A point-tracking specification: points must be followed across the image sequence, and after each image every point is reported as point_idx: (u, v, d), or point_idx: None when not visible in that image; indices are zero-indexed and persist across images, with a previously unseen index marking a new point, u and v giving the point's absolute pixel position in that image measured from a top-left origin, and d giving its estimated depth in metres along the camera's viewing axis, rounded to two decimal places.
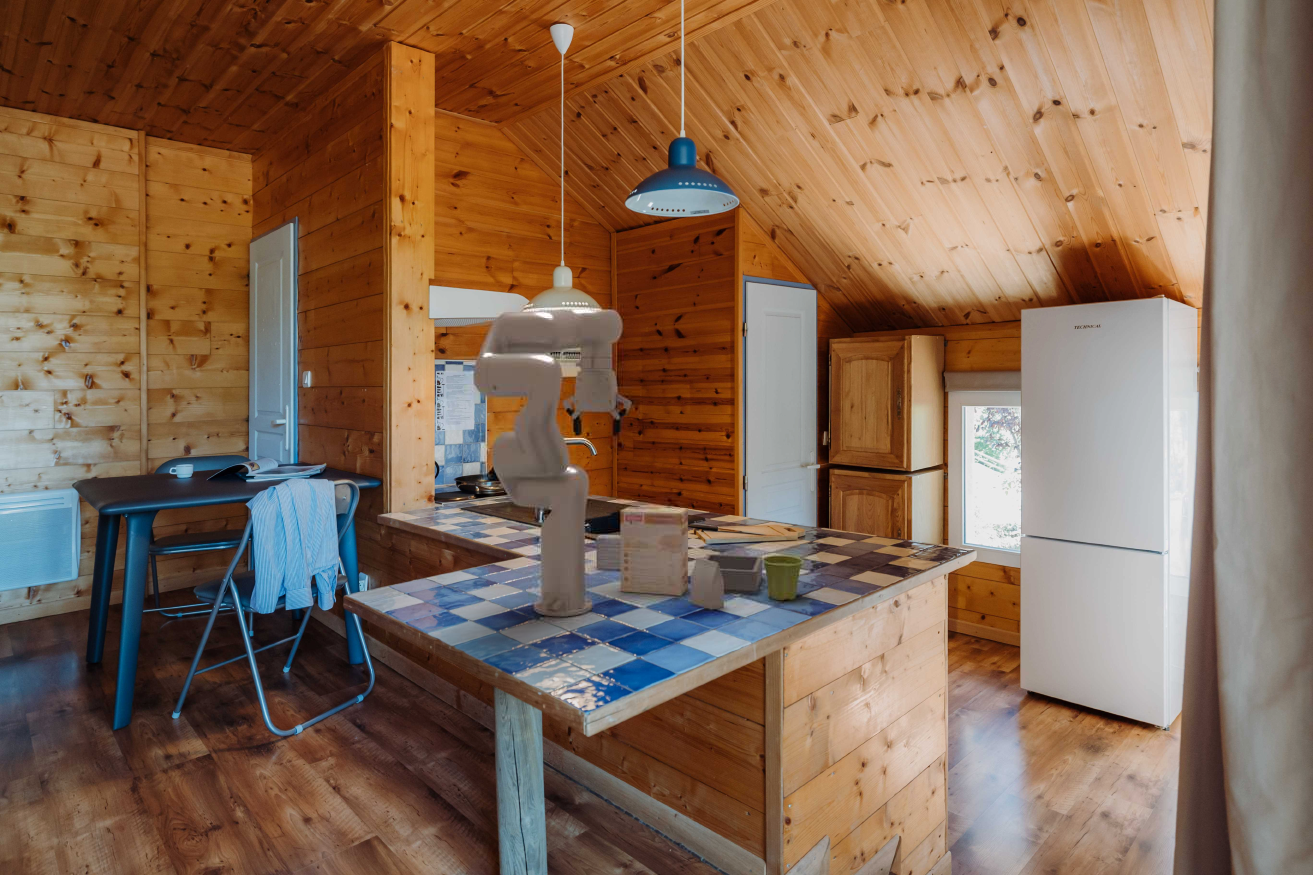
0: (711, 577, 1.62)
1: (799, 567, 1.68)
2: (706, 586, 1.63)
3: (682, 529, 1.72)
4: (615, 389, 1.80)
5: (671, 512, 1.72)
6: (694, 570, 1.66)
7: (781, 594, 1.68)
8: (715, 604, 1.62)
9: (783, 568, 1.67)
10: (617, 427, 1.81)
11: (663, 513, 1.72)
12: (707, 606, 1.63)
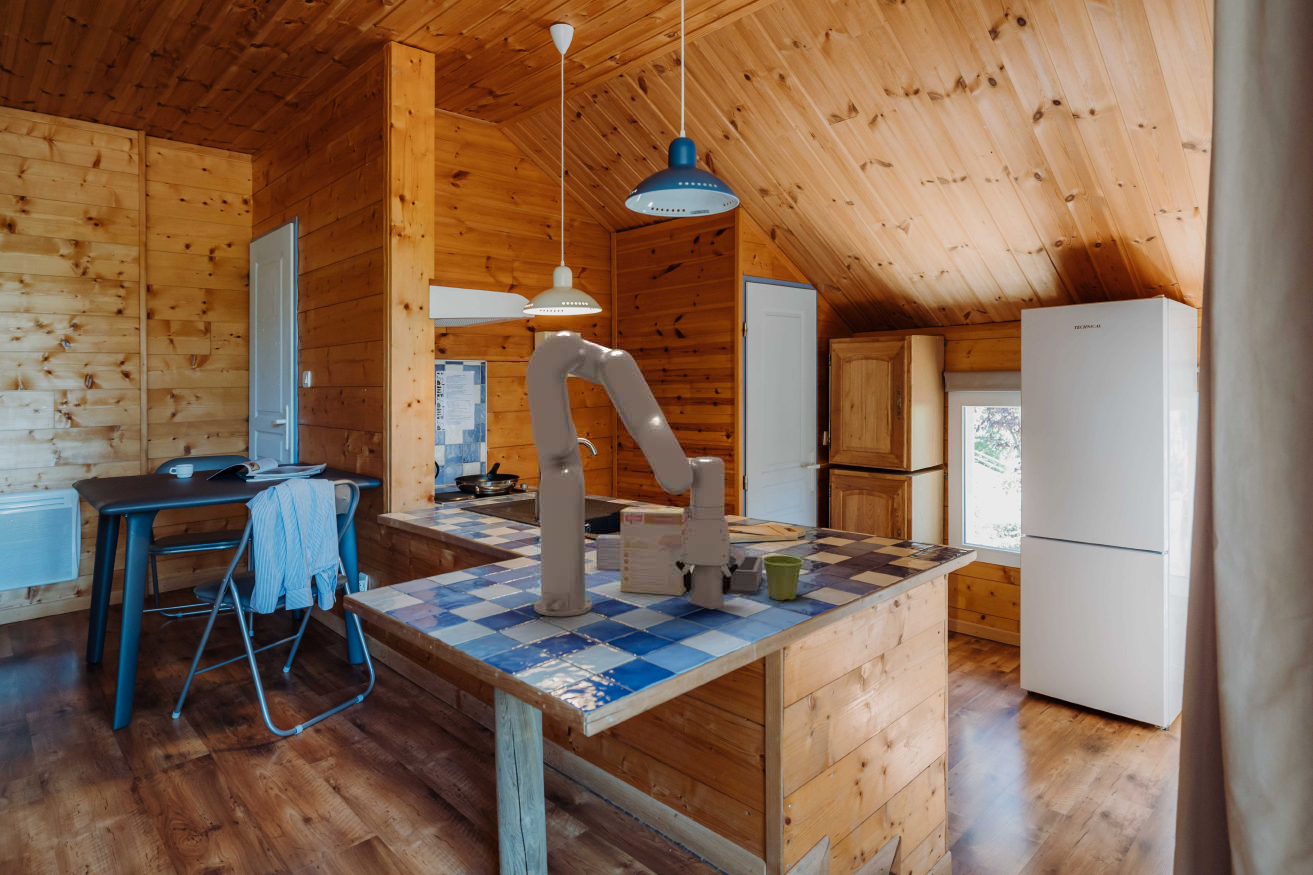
0: (711, 577, 1.62)
1: (799, 567, 1.68)
2: (706, 586, 1.63)
3: (682, 529, 1.72)
4: (729, 541, 1.63)
5: (671, 512, 1.72)
6: (694, 570, 1.66)
7: (781, 594, 1.68)
8: (715, 603, 1.63)
9: (783, 568, 1.67)
10: (727, 584, 1.63)
11: (663, 513, 1.72)
12: (707, 606, 1.63)
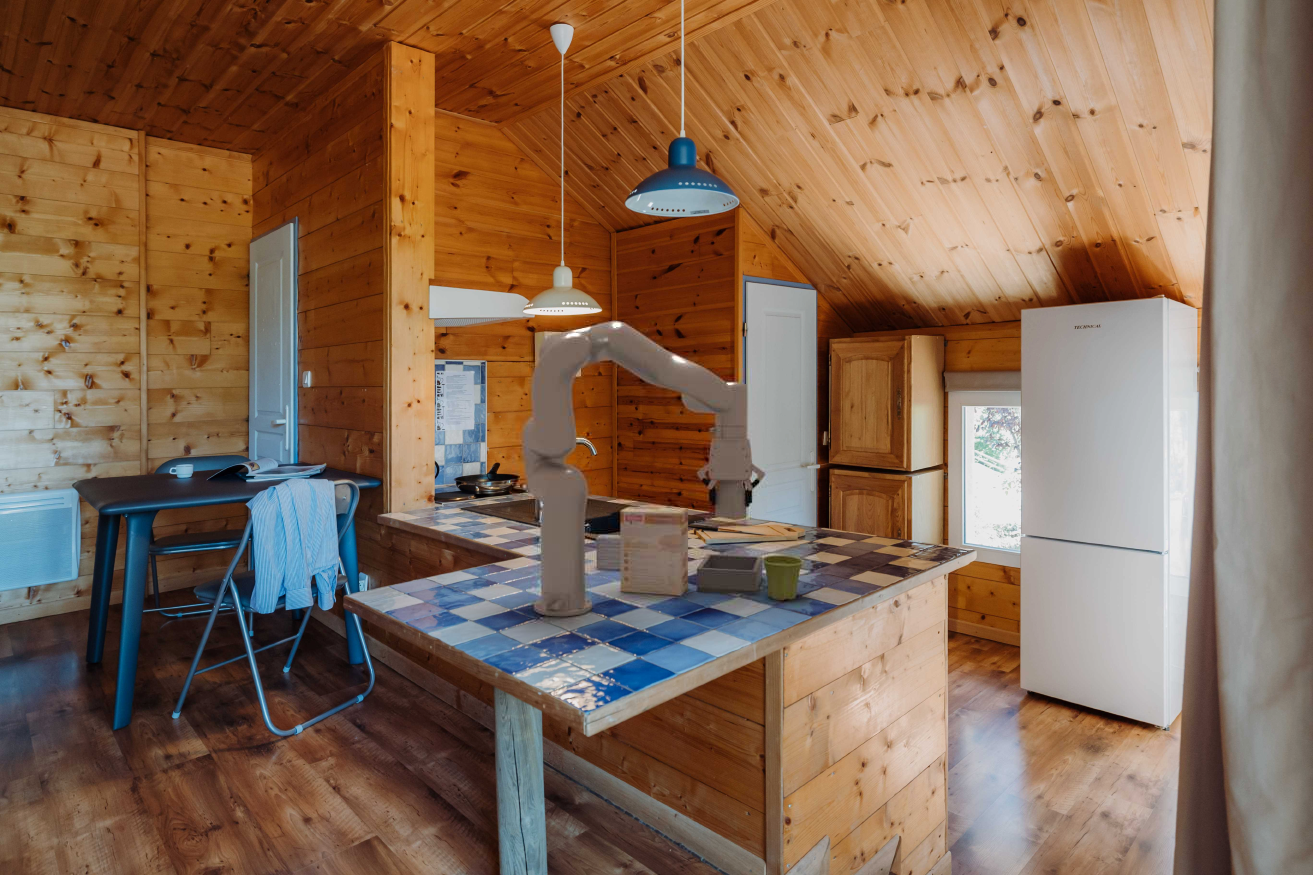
0: (735, 490, 1.78)
1: (799, 567, 1.68)
2: (730, 499, 1.78)
3: (682, 529, 1.72)
4: (751, 458, 1.78)
5: (671, 512, 1.72)
6: (719, 486, 1.82)
7: (781, 594, 1.68)
8: (738, 515, 1.78)
9: (783, 568, 1.67)
10: (749, 498, 1.79)
11: (663, 513, 1.72)
12: (731, 517, 1.78)
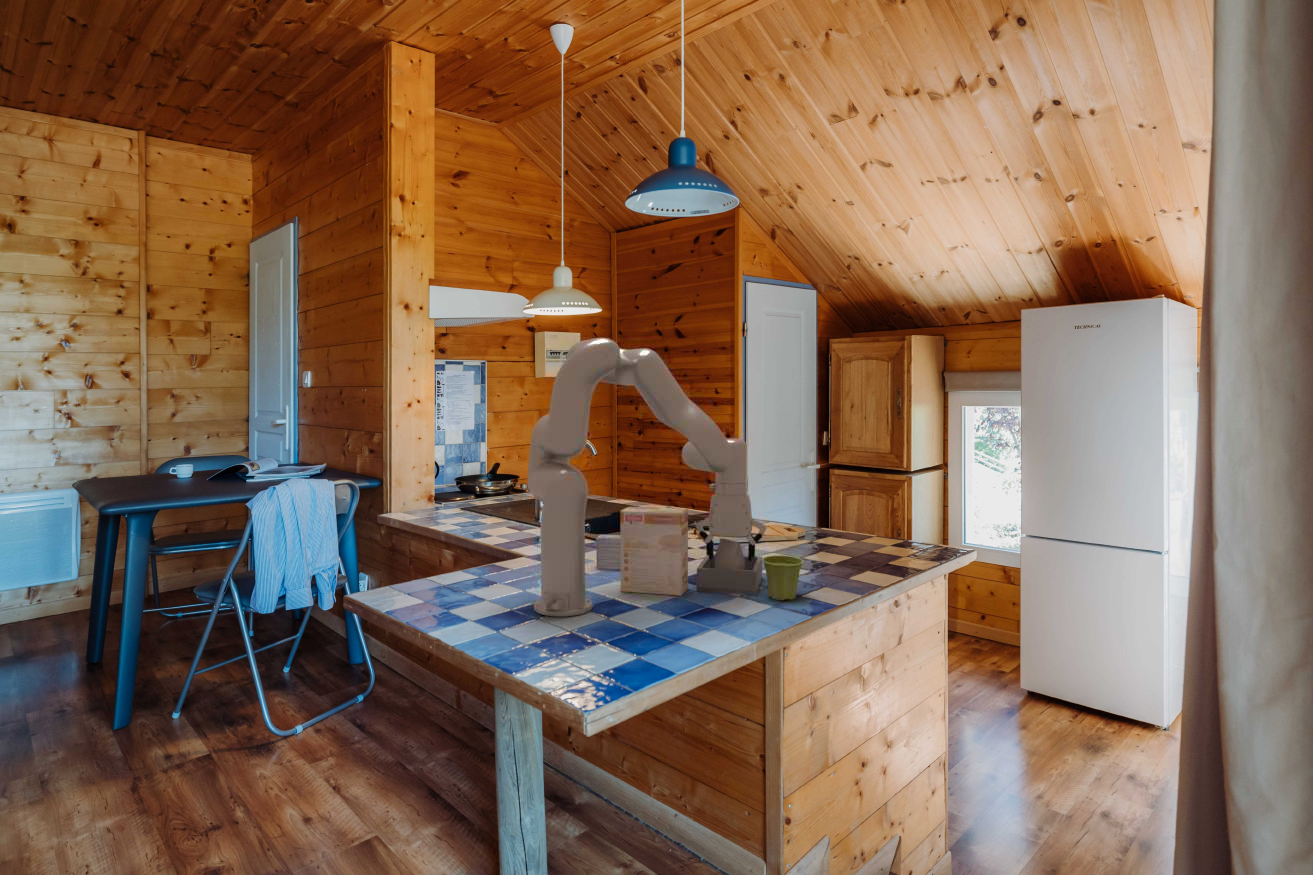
0: (733, 555, 1.79)
1: (799, 567, 1.68)
2: (729, 563, 1.79)
3: (682, 529, 1.72)
4: (751, 514, 1.79)
5: (671, 512, 1.72)
6: (718, 549, 1.83)
7: (781, 594, 1.68)
8: None
9: (783, 568, 1.67)
10: (752, 552, 1.80)
11: (663, 513, 1.72)
12: None
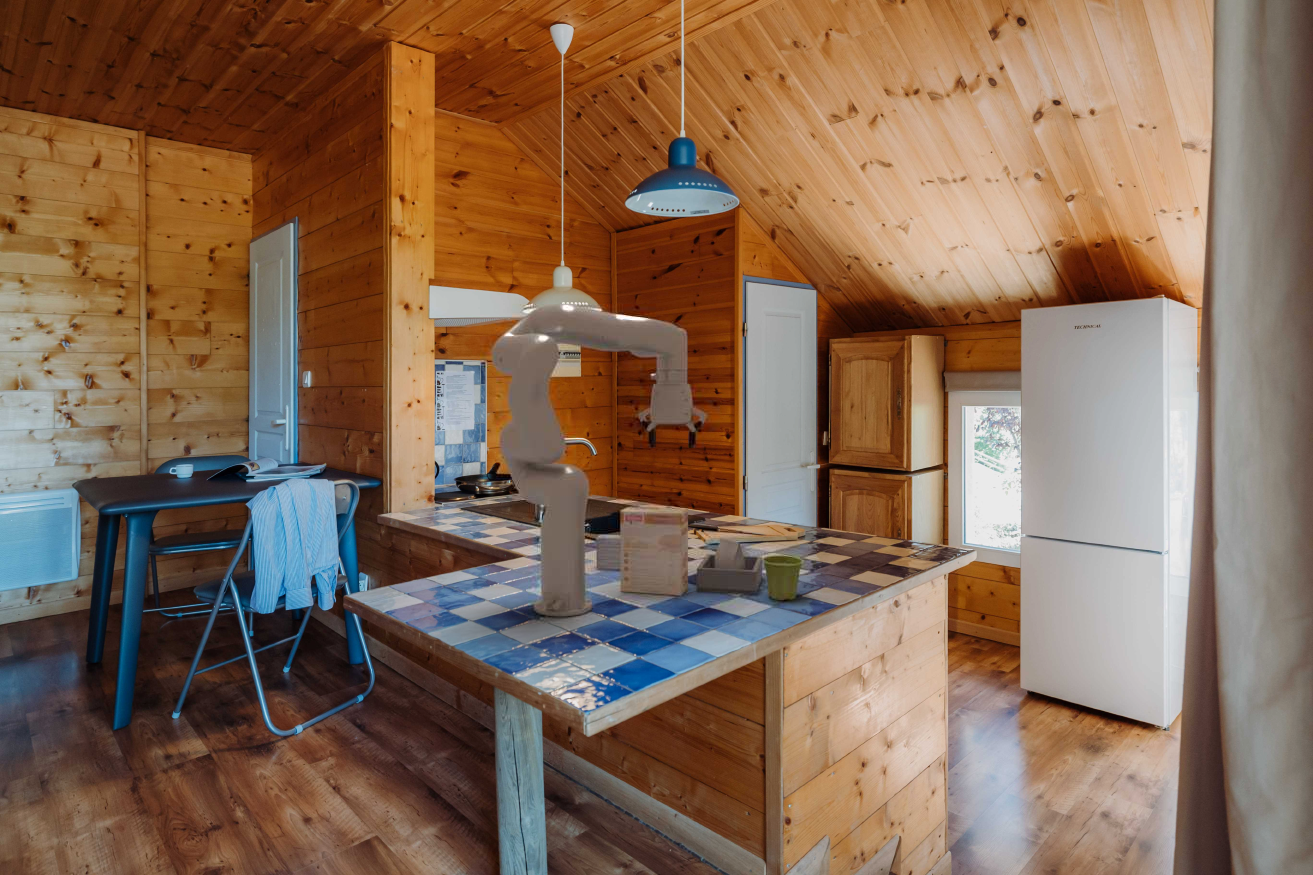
0: (733, 555, 1.79)
1: (799, 567, 1.68)
2: (729, 563, 1.79)
3: (682, 529, 1.72)
4: (691, 402, 1.83)
5: (671, 512, 1.72)
6: (718, 549, 1.83)
7: (781, 594, 1.68)
8: None
9: (783, 568, 1.67)
10: (692, 439, 1.83)
11: (663, 513, 1.72)
12: None
